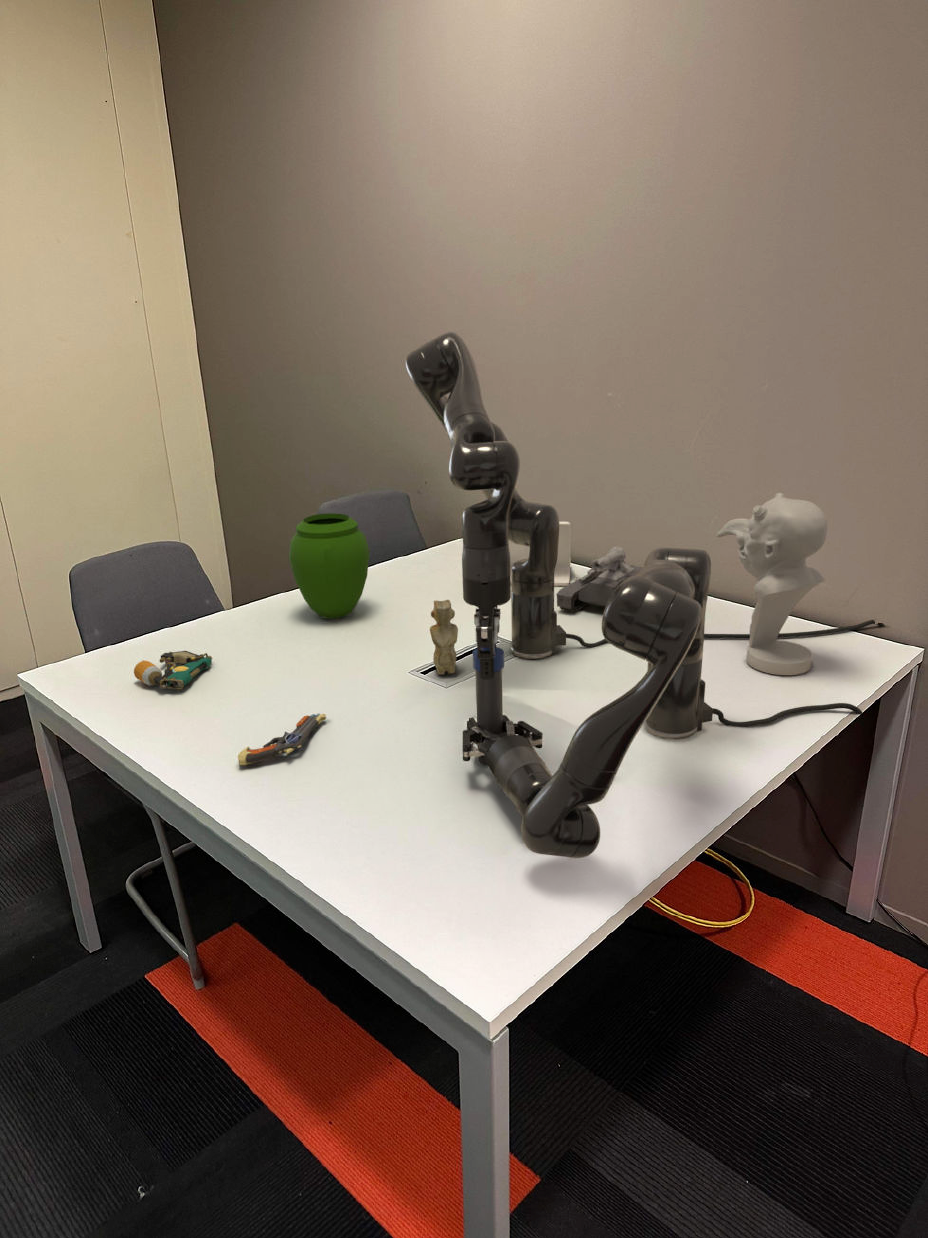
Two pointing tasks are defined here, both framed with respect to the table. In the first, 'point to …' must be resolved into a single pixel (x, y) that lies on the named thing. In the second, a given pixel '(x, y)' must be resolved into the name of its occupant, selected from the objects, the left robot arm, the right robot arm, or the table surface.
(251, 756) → the toy gun
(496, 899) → the table surface
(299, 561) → the vase
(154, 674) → the spray gun
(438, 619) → the sculpture
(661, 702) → the right robot arm
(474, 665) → the lid
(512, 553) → the tablet stand
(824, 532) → the bust sculpture
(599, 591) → the toy
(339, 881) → the table surface
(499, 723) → the dark grey capped cylinder
